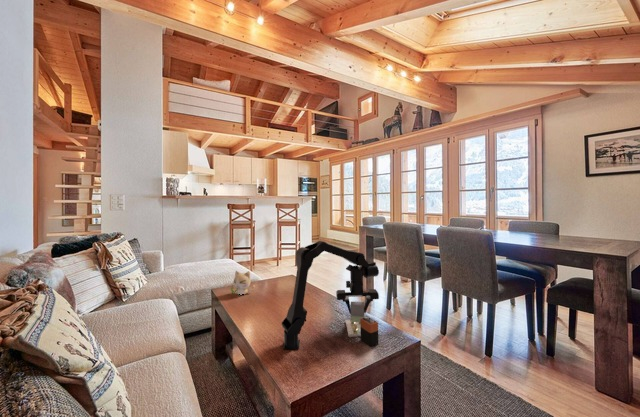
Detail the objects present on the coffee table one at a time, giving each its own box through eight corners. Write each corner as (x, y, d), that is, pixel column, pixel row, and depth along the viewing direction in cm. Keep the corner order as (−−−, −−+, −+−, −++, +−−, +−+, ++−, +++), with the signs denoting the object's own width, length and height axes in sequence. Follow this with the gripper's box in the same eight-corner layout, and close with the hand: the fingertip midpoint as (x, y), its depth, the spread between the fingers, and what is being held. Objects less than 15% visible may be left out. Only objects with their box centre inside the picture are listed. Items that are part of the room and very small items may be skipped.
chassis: (371, 336, 115) (371, 328, 115) (348, 336, 115) (348, 328, 115) (366, 321, 129) (366, 314, 129) (345, 322, 129) (345, 314, 129)
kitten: (226, 296, 169) (226, 272, 169) (236, 290, 179) (235, 268, 179) (247, 297, 165) (246, 273, 165) (256, 292, 175) (255, 269, 174)
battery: (368, 337, 114) (367, 314, 114) (379, 344, 108) (378, 320, 108) (360, 339, 112) (359, 316, 112) (370, 347, 106) (370, 322, 106)
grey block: (364, 322, 115) (363, 308, 115) (350, 321, 116) (350, 308, 116) (364, 311, 127) (363, 298, 127) (351, 310, 128) (351, 298, 128)
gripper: (373, 273, 129) (374, 305, 130) (335, 274, 129) (335, 306, 130) (378, 280, 118) (379, 315, 119) (336, 281, 118) (337, 316, 119)
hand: (357, 313), depth 122 cm, fingers closed on grey block, 6 cm apart
